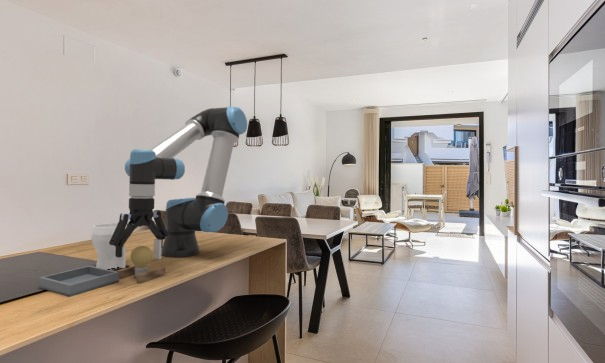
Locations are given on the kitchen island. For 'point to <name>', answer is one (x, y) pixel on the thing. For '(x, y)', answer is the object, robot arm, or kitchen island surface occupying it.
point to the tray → (78, 280)
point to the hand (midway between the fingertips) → (140, 262)
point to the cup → (104, 245)
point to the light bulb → (141, 258)
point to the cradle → (142, 276)
